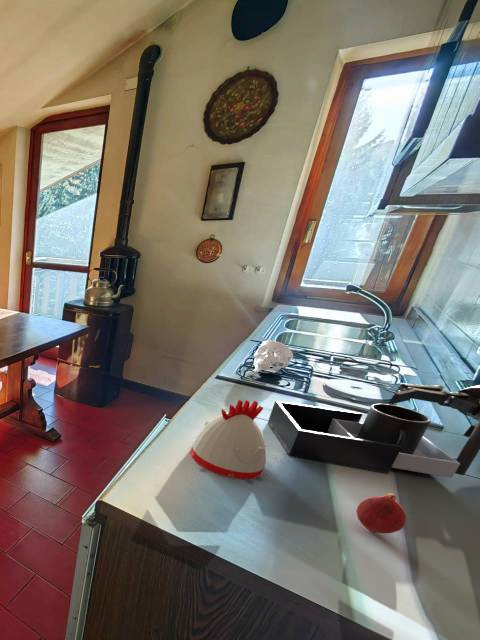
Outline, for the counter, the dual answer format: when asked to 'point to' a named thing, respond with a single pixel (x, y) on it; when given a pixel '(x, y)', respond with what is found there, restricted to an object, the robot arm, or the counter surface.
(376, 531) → the onion
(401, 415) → the mug
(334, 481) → the counter surface
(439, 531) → the counter surface
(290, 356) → the pale pink rounded lump
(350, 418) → the black open box
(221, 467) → the kitchen timer
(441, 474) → the white boxy piece
